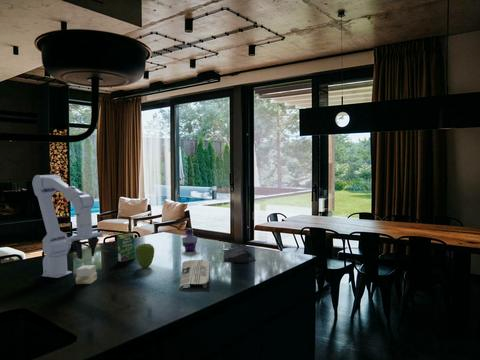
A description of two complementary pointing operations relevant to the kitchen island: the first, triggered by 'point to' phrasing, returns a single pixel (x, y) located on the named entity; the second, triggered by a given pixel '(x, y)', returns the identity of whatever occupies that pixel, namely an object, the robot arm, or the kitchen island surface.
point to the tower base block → (86, 279)
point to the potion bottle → (189, 241)
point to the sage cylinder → (86, 254)
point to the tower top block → (86, 270)
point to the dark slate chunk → (238, 255)
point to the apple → (144, 255)
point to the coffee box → (125, 247)
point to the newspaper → (194, 273)
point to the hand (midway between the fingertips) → (85, 257)
